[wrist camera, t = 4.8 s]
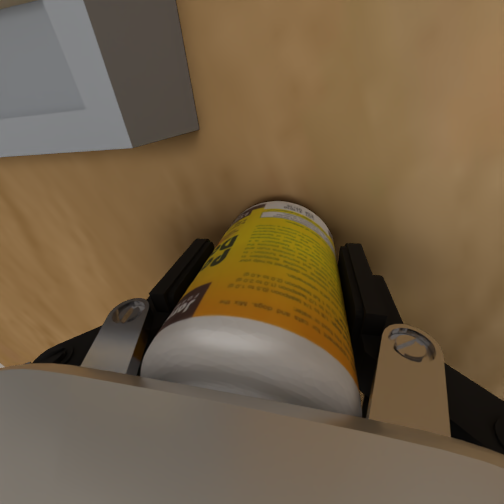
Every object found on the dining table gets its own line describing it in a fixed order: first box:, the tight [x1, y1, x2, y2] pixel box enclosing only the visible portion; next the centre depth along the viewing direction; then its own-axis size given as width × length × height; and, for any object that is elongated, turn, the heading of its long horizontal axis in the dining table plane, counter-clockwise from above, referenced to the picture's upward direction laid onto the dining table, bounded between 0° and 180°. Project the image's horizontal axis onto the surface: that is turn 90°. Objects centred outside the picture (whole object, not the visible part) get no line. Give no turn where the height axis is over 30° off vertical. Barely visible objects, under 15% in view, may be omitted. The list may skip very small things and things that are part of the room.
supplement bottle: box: [140, 201, 362, 418], centre depth 8 cm, size 6×6×10 cm
